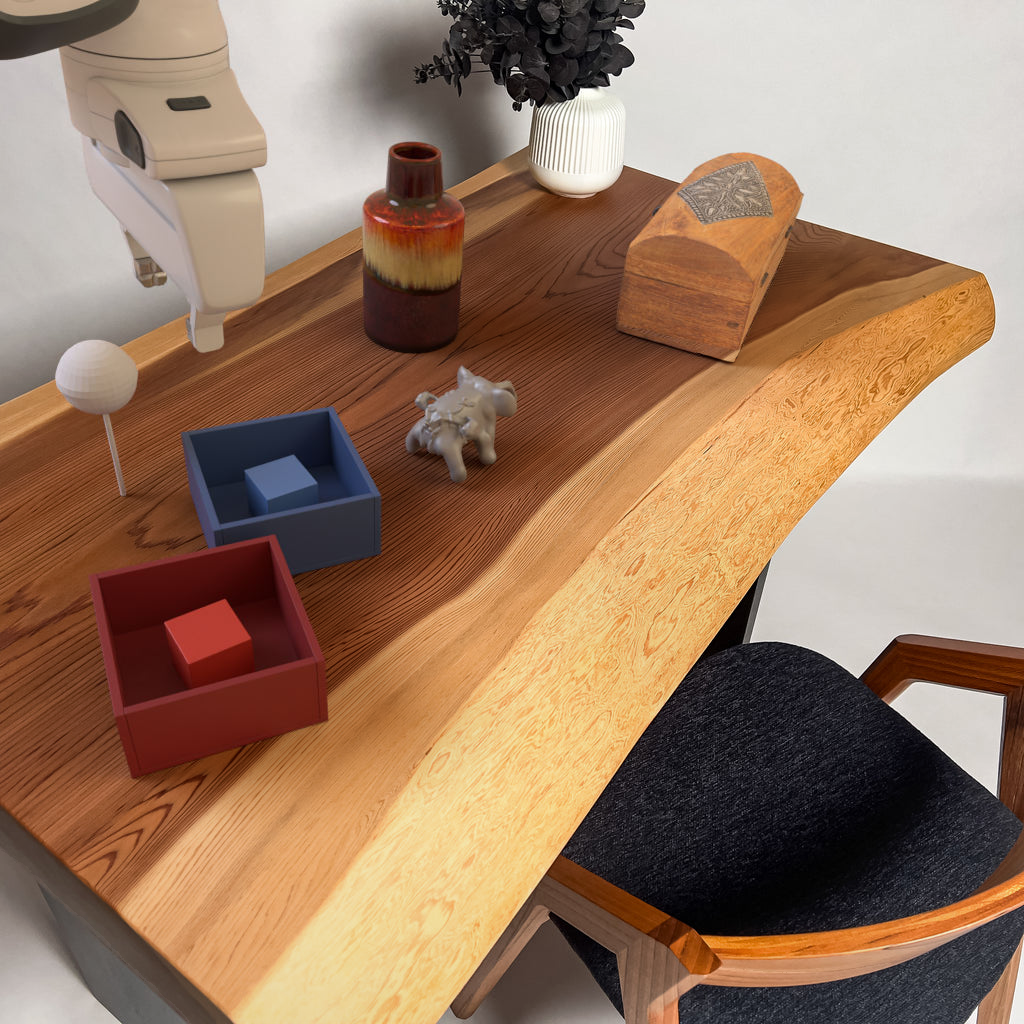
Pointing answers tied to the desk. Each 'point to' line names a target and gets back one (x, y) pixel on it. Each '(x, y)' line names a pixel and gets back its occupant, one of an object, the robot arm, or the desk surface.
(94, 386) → the lollipop
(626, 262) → the wooden box
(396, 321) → the vase
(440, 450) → the grey animal figurine
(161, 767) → the red bin
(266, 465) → the blue block
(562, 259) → the desk surface
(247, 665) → the red block
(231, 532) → the blue bin
